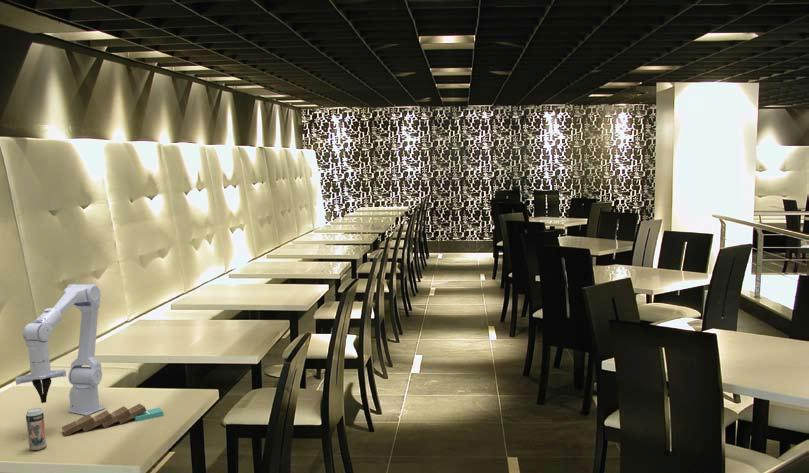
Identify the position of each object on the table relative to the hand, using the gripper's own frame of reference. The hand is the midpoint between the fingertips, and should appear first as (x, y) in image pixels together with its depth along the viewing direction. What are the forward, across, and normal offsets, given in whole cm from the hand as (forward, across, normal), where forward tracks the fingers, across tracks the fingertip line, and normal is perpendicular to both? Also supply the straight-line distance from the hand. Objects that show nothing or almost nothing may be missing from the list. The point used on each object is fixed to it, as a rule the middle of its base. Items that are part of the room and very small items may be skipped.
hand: (43, 402), depth 249 cm
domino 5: (+10, +26, -4) cm, 28 cm away
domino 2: (+10, +10, -4) cm, 15 cm away
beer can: (+11, -4, -12) cm, 17 cm away
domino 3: (+10, +16, -4) cm, 19 cm away
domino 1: (+10, +5, -4) cm, 11 cm away
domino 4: (+10, +21, -4) cm, 23 cm away
